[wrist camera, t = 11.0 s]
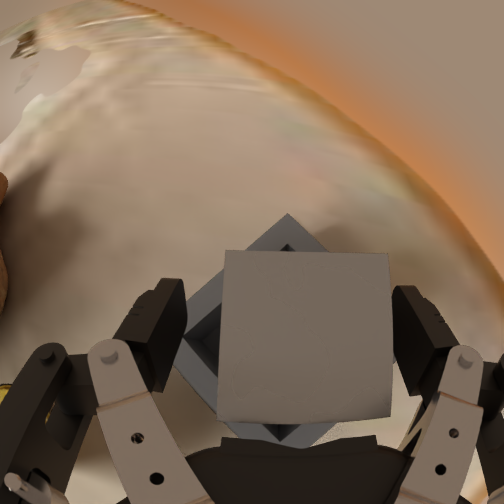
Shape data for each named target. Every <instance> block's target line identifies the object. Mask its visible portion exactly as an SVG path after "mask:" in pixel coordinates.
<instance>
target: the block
mask: <svg viewBox="0 0 504 504" xmlns="http://www.w3.org/2000/svg"><path fill="white" fill-rule="evenodd" d="M392 381H393V319H392V298H391V283H390V271H389V260H388V254H382V253H334V252H286V251H236V250H226V251H225V265H224V279H223V295H222V311H221V329H220V348H219V369H218V392H217V420H216V421H223V422H236V423H254V424H319V423H336V422H349V421H360V420H369V419H377V418H385V417H390V415H391V401H392Z"/></svg>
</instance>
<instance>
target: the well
mask: <svg viewBox="0 0 504 504" xmlns="http://www.w3.org/2000/svg"><path fill="white" fill-rule="evenodd" d="M245 251H286V252H328V251H327V250H326V249H325V248H324V247H323V246H322V245H321V244H320V243H319V242H318V241H317V240H316V239H315V238H314V237H313V236H311V235H310V234H309V233H308V232H307V231H306V230H305V229H304V228H303V227H302V226H301V225H300V224H299V223H298V222H297V221H296V220H294V219H293V218H292V217H291V216H290V215H289V214H288V213H287V214H286V215H285V216H284V217H283V218H282V219H280V220H279V221H278V222H277V223H276V224H275V225H274V226H272V227H271V228H270V229H269V230H268V231H267V232H265V233H264V234H263V235H262V236H261V237H260V238H259V239H257V240H256V241H255V242H254V243H253V244H252V245H250V246H249V247H248V248H247V249H246V250H245ZM223 279H224V269H223V270H222V271H221V272H219V273H218V274H217V275H216V276H215V277H214V278H212V279H211V280H210V281H209V282H208V283H207V284H206V285H204V286H203V287H202V288H201V289H200V290H199V291H198V292H196V293H195V294H194V295H193V296H192V297H191V298H190V299H188V300H187V301H186V306H187V313H188V321H187V327H186V330H185V333H184V335H183V338H182V341H181V343H180V346H179V349H178V352H177V354H176V357H175V360H174V363H173V366H174V367H175V368H176V369H177V370H178V372H179V373H180V374H181V375H182V376H183V378H184V379H185V380H186V381H187V382H188V383H189V385H190V386H191V387H192V388H193V389H194V390H195V392H196V393H197V394H198V395H199V396H200V397H201V398H202V399H203V401H204V402H205V403H206V404H207V405H208V406H209V407H210V408H211V409H212V410H213V411H214V413H215V414H216V415H217V392H218V369H219V348H220V329H221V311H222V295H223ZM395 361H396V358H395V356H394V353H393V364H394V363H395ZM224 423H225V424H226V425H227V426H228V427H229V428H230V429H231V430H232V431H233V432H234V433H235V434H236V435H237V436H238V437H239V438H240V439H256V440H264V441H268V442H272V443H276V444H280V445H285V446H289V447H294V448H300V449H303V448H308V447H310V446H311V445H312V444H313V443H315V442H316V441H317V440H318V439H319V438H320V437H322V436H323V435H324V434H325V433H326V432H327V431H328V430H329V429H331V428H332V427H333V426H334V425H335V424H336V423H337V422H336V423H319V424H254V423H236V422H224Z"/></svg>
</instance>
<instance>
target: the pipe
mask: <svg viewBox="0 0 504 504" xmlns="http://www.w3.org/2000/svg"><path fill="white" fill-rule="evenodd" d="M7 188H8V180H7V178H6V176H4V174H3V173H1V172H0V206H1V204H2V201H3V199H4V196H5V194H6V191H7ZM7 289H8V275H7V270H6V267H5V264H4V260H3V256H2V252H1V249H0V316H1V314H2V310H3V307H4V300H5V299H6V296H7Z"/></svg>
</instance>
